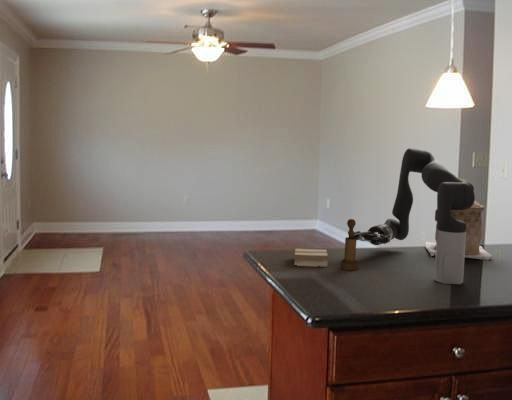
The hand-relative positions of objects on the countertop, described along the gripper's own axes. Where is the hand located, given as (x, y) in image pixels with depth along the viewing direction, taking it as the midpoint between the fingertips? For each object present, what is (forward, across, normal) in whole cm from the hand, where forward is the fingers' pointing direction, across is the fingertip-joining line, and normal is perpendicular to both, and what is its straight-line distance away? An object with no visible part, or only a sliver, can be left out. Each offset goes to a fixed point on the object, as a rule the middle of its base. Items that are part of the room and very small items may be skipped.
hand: (362, 239), depth 217 cm
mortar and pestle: (+10, 0, +9) cm, 14 cm away
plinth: (+11, -16, +9) cm, 21 cm away
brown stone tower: (-45, +22, +9) cm, 51 cm away
